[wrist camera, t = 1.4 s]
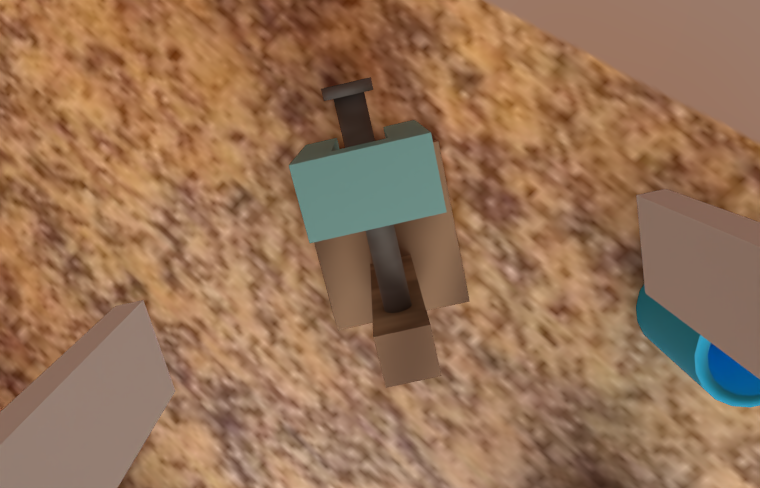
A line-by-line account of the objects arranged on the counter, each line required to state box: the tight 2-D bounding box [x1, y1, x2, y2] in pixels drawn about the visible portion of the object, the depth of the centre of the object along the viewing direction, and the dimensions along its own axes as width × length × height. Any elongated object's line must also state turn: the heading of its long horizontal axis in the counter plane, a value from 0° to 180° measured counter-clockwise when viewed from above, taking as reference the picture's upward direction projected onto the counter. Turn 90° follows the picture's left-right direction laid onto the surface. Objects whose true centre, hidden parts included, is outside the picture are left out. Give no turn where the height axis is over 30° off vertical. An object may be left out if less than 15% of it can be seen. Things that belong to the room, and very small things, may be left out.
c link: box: [289, 120, 447, 243], centre depth 33 cm, size 7×4×9 cm, turn 103°
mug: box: [636, 285, 760, 407], centre depth 41 cm, size 12×8×8 cm
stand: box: [314, 77, 469, 388], centre depth 35 cm, size 10×17×14 cm, turn 13°
